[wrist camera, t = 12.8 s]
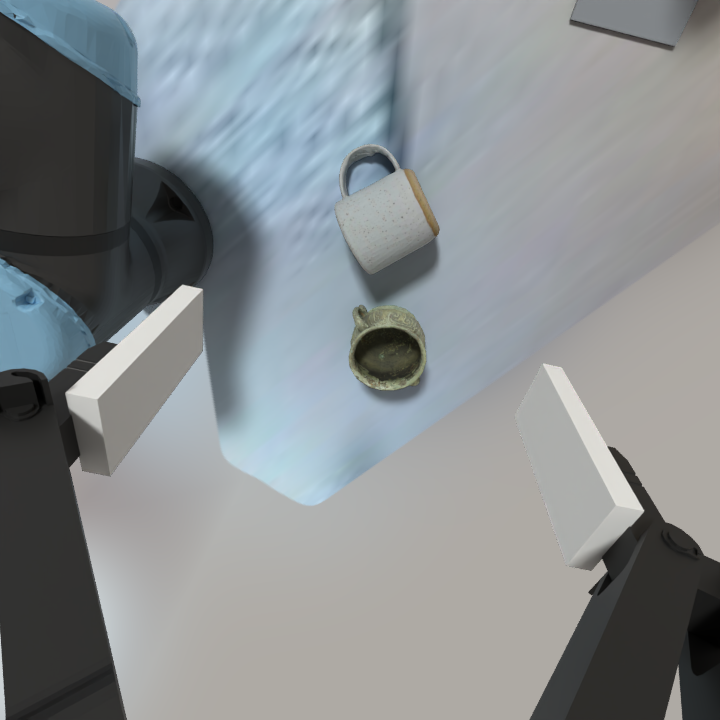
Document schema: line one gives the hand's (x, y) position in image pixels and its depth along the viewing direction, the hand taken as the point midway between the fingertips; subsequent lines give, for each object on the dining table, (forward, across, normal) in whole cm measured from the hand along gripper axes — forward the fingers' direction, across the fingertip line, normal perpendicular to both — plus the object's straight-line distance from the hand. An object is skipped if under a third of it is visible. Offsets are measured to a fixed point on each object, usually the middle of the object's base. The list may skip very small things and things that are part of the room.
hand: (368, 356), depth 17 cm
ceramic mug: (+32, 0, -1) cm, 32 cm away
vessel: (+32, +4, -16) cm, 36 cm away
